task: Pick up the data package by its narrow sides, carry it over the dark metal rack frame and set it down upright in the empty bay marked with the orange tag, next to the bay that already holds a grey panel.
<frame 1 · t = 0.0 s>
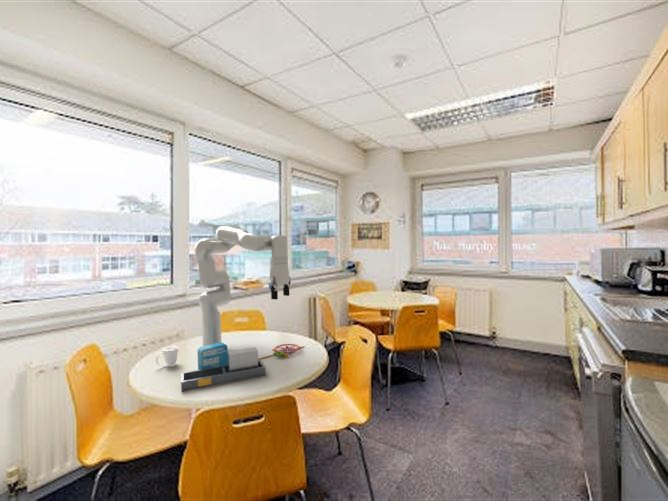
hand: (280, 297, 161), 31 cm above the table, tool pointing down, fingers open, 9 cm apart
rack: (224, 378, 144), on the table
cup: (167, 366, 160), on the table
data package: (213, 372, 152), on the table
mechanical gear assembly: (280, 355, 174), on the table
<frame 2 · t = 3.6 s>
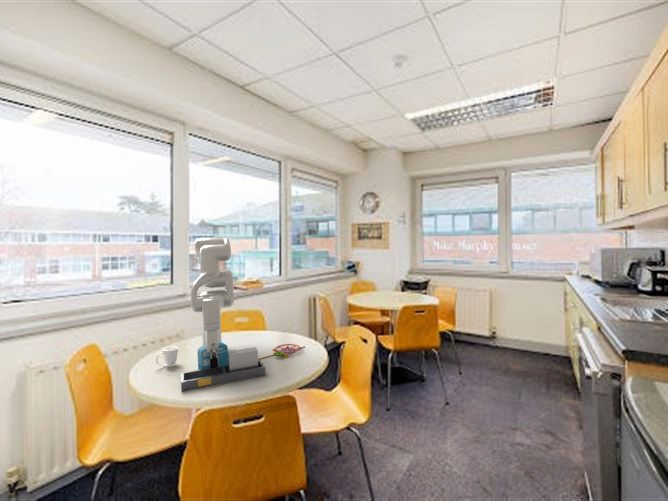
hand: (213, 363, 152), 4 cm above the table, tool pointing down, fingers open, 9 cm apart
nothing on the table moved.
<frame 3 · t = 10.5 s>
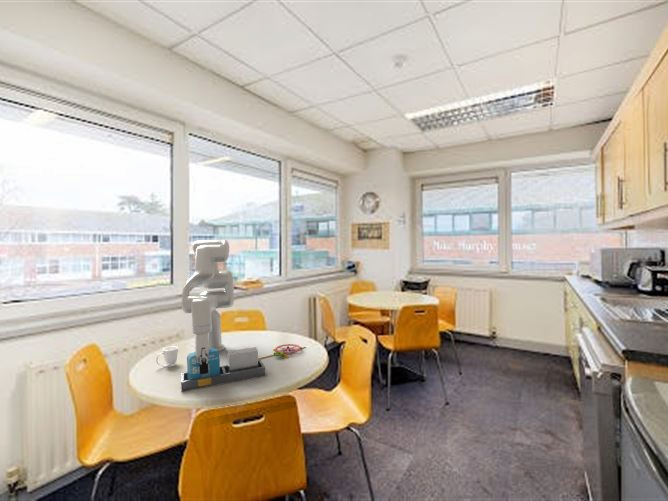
hand: (203, 369, 141), 6 cm above the table, tool pointing down, fingers open, 8 cm apart
data package: (204, 380, 141), point 1 cm above the table, touching rack
everything else where it was.
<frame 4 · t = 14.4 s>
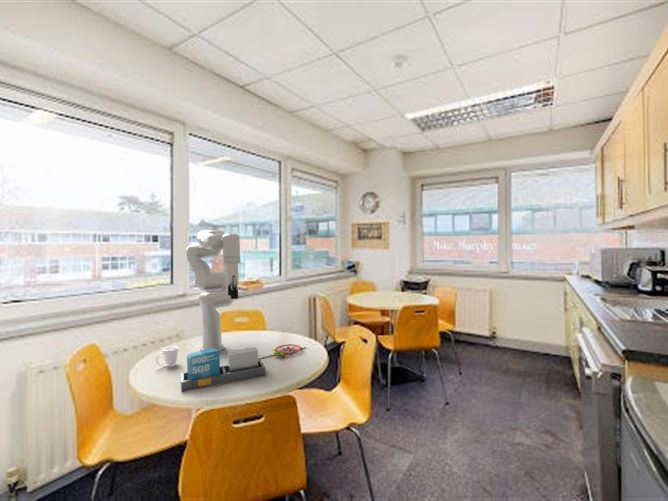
hand: (233, 296, 158), 32 cm above the table, tool pointing down, fingers open, 9 cm apart
nothing on the table moved.
at the end: data package inside the target area on the rack (0.3 cm from its centre), point 0.6 cm above the rack's base; data package tilted 0°; data package touching rack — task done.
